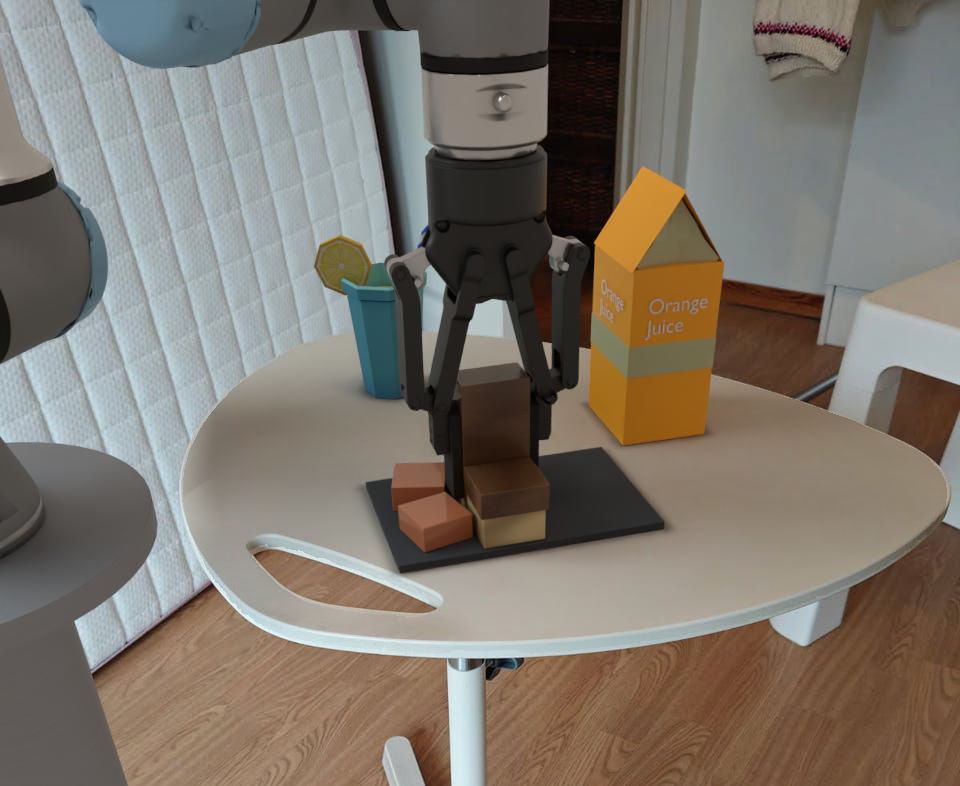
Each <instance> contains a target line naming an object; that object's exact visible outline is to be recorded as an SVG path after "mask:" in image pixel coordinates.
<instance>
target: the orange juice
mask: <svg viewBox="0 0 960 786" xmlns="http://www.w3.org/2000/svg"><path fill="white" fill-rule="evenodd" d="M699 217H700V216H699V215H698V214H697V211H696V210H695V208H694V206H693V205H692V202H691V200H690V199H689V197H688V195H687V190H686V189H685V188H682V186H679V185H678V184H675V183H674V182H672V181H671V180H668V179H667V178H665V177H664V176H662V175H660V174H658V173H656V172H655V171H652V170H651V169H649V168H647V167H645V166H644V165H642V166H641V168H640V169H639V171H638V173H637V174H636V175H635V177H634V179H633V180H632V183H631V184H630V185H629V186H628V188H627V189H626V191H625V193H624V195H623V196H622V198H621V199H620V201H619V203H618V204H617V206H616V207H615V208H614V210H613V212H612V213H611V215H610V217H609V218H608V219H607V222H606V223H605V225H604V226H603V227H602V229H601V231H600V233H599V234H598V235H597V237H596V239H595V240H594V242H593V244H594V263H593V265H594V266H593V267H594V268H593V288H592V312H591V321H590V356H589V357H590V360H589V382H588V407H589V408H590V409H591V410H592V411H593V412H594V414H595V415H596V416H597V417H598V418H599V420H600V421H601V422H602V423H603V424H604V426H606V428H607V429H608V430H609V431H610V432H611V434H612V435H613V436H614V437H615V438H616V439H617V441H618V442H619V443H620V444H621V445H622V446H630V445H638V444H644V443H652V442H658V441H665V440H671V439H679V438H685V437H693V436H700V435H705V431H706V430H705V429H706V422H707V413H708V406H709V396H710V388H711V380H712V371H713V368H714V360H715V351H716V343H717V330H718V329H717V328H718V321H719V320H718V319H719V313H720V302H721V296H722V295H721V294H722V287H723V277H724V270H725V261H724V260H723V259H722V257H721V255H720V254H719V252H718V250H717V248H716V247H715V245H714V242H713V241H712V239H711V237H710V236H709V234H708V232H707V230H706V229H705V226H704V225H703V223H702V221H701V219H700V218H699Z"/></svg>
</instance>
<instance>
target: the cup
mask: <svg viewBox="0 0 960 786" xmlns="http://www.w3.org/2000/svg"><path fill="white" fill-rule="evenodd" d="M427 227H428V224H426V226H425V227H424V228H423V230H422V231H421V234H420V237H419V239H418V244H417V246H416V249H418V248H420V247H422V240H423V237H424V235H425V233H426V231H427ZM313 268H314V270H315V271H316V273H317V275H318V277H319V279H320V281H321V283H322V285H323V286H324V288H326V289H329V290H331V291H334V292H336V293H338V294H341V295H343V296H346V298H347V302H348V307H349V313H350V317H351V323H352V328H353V329H352V330H353V333H354V339H355V345H356V348H357V349H356V350H357V353H358V354H357V355H358V359H359V365H360V369H361V374H362V378H363V379H362V380H363V385H364V389H365V392H367V393H368V394H369V395H371V396H373V397H374V398H375V399H389V400H399V399H402V398H404V397H403V396H402V394H401V391H400V376H399V358H398V340H397V323H396V305H395V291H394V289H393V286H392V284H391V282H390V279H389V277H388V274H387V272H386V270H385V267H384V262H377V263H372V262H371V259H370V257H369V255H368V254H367V252H366V250H365V248H364V245H363V243H360V242H359V241H356V240H355V239H352V238H349V237H347V236H344V235H342V234H339V235H337V236H334V237H332V238H329V239H328V240H325V241H322V242H321V243H319V245H318V249H317V253H316V256H315V260H314V264H313ZM424 278H425V281H424V284H423V286H422V287H421V288H420V289H418V290H417V291H418V294H419V298H420V304H421V321H422V323H424V322H423V318H424V317H423V314H424V288H425V287H426V285H427V282H428V281H427V280H428V273H427V272H426V271H425V272H424Z"/></svg>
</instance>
